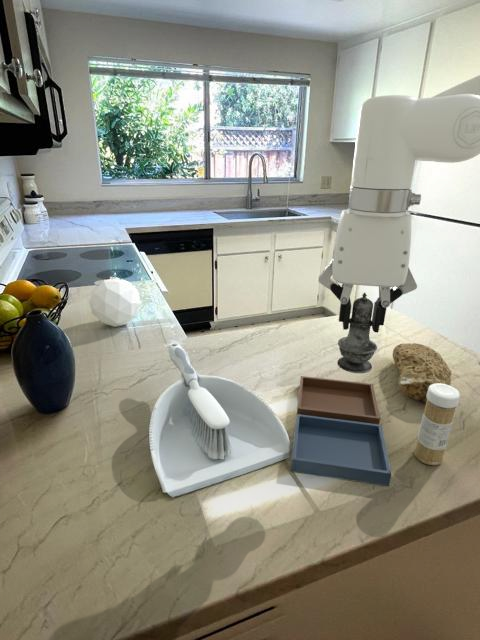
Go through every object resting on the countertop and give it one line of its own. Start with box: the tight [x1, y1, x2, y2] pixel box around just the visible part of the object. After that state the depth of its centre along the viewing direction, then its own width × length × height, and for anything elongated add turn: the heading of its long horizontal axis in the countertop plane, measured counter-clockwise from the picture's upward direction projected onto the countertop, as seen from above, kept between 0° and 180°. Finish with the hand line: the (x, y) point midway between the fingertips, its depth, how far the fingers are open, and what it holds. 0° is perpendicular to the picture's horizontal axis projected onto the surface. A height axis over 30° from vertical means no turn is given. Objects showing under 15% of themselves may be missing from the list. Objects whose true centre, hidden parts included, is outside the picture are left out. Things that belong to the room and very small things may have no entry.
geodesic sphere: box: [88, 275, 141, 328], centre depth 115 cm, size 15×14×14 cm
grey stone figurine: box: [337, 292, 378, 374], centre depth 61 cm, size 6×6×12 cm
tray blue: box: [290, 413, 392, 487], centre depth 69 cm, size 15×12×2 cm
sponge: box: [391, 342, 452, 403], centre depth 90 cm, size 13×8×20 cm
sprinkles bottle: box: [413, 383, 461, 466], centre depth 66 cm, size 5×5×14 cm
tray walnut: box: [296, 375, 381, 425], centre depth 81 cm, size 15×12×2 cm
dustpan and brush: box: [148, 342, 292, 499], centre depth 75 cm, size 23×33×10 cm
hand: (360, 326), depth 61 cm, fingers closed on grey stone figurine, 3 cm apart
